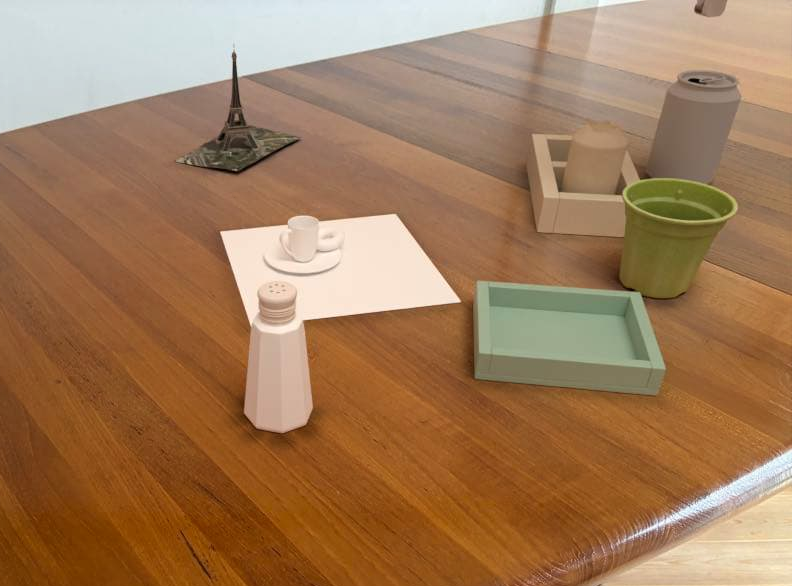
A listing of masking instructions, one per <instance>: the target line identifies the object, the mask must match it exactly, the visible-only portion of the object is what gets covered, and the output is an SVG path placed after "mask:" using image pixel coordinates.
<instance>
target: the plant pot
mask: <svg viewBox="0 0 792 586" xmlns="http://www.w3.org/2000/svg"><path fill="white" fill-rule="evenodd" d="M622 198H623V201H624V203H625V215H626V224H625V234H624V237H623V245H622V253H621V261H620V270H619V281H620V283H621V284H622V285H623V286H624V287H625V288H627V289H632V290H634V291H635V292H640V293H641V296H644V297H647V298H653V299H673V298H677V297H678V296H679V295H681V294H683V293H687V291H688V290H689V289H690V287H691V284H692V283H693V281H694V278H695V277H696V275H697V274H698V271H699V269H700V268H701V264H702V263H703V261H704V260H705V257H706V256H707V254H708V252H709V250H710V248H711V246H712V244H713V243H714V240H716V237H717V235H718V233H719V232H720V231H721V230H722V229H723V228H725V225H726V224H727V222H728V221H729V220H731V219H732V218H734V217H735V215H737V212H738V210H739V206H738V205H739V204H738V202H737V201H736V199H735V198H734V197H733V196H732V195H730V194H729V193H727V191H723V190H722V189H720V188H718V187H715V186H713V185H710V184H707V185H706V184H703V183H699V182H694V181H689V180H683V179H674V178H653V179H651V178H646V179H640V181H636V182H634V183H631V184H629V185H628V186H627V187H626V188H625V189H624V190H623V193H622Z"/></svg>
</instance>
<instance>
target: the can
mask: <svg viewBox="0 0 792 586" xmlns="http://www.w3.org/2000/svg"><path fill="white" fill-rule="evenodd" d="M676 77H677V78H676V79H677V81H675V82H674V83H672V84H671V85H670V86H668V87H667V90H666V94H665V97H664V101H663V104H662V108H661V112H660V115H659V119H658V122H657V127H656V130H655V133H654V137H653V141H652V145H651V148H650V150H649V155H648V159H647V162H646V166H645V173H646V174H647V175H648V176H649V178H650V179H653V178H674V179H683V180H689V181H694V182H699V183H703V184H706V185H710V184H711V183H712V182H713V181H714V180H715V178H716V175H717V172H718V169H719V165H720V162H721V159H722V156H723V154H724V150H725V148H726V145H727V141H728V139H729V136H730V133H731V130H732V126H733V123H734V120H735V118H736V115H737V111H738V108H739V105H740V102H741V99H742V94H741V91H740V90H739V88H738V85H739V84H740V79H739V78H738V77H736V76H734V75H732V74H730V73H726V72H722V71H716V70H707V69H706V70H704V69H702V70H701V69H693V70H685V71H683V72H680V73H678V74H677V75H676Z"/></svg>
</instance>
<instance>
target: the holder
mask: <svg viewBox="0 0 792 586" xmlns="http://www.w3.org/2000/svg"><path fill="white" fill-rule="evenodd" d="M573 135H574V134H572V135H571V134H543V133H532V134H531V137H530V142H529V147H528V153H527V159H526V164H525V165H526V172H527V178H528V185H529V190H530V197H531V203H532V209H533V216H534V222H535V223H534V224H535V228H536V232H537V233H541V234H560V235H574V236H575V235H576V236H578V235H579V236H594V237H608V238H624V234H625V224H626V215H625V203H624V201H623V198H622V193H623V190H624V189H625V188H626V187H627V186H628V185H629V184H631V183H634V182H636V181H640V180H641V179H640V177H639V174H638V172H637V169H636V167H635V166H634V163H633V160H632V158H631V155H630V154H629V151H628V149H626V153H625V157H624V161H623V164H622V168H621V172H620V176H619V180H618V184H617V188H616V192H615V195H603V194H584V193H565V192H561V188H562V183H563V178H564V174H565V169H566V164H567V160H568V155H569V150H570V145H571V141H572V136H573Z"/></svg>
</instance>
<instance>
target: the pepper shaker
mask: <svg viewBox="0 0 792 586" xmlns="http://www.w3.org/2000/svg"><path fill="white" fill-rule="evenodd" d="M257 296H258V298H259V303H258V304H259V310H260V311H259V312H258V313H257V315H256V317H255V318H254V320H253V322H252V326H250V335H249V336H250V337H249V347H248V349H249V351H248V359H247V372H246V383H245V395H244V405H243V414H244V415H245V417H246V418H247V419H248V420H249V421H250V423H251V424H252V425H253V426H254V428H255V429H256V430H261V431H267V432H273V433H276V434H277V433H278V434H284V433H287V432H291V431H294V430H296V429H299V428H302V427H304V426H306V425H307V423H308V421H309V419H310V416H311V414H312V412H313V410H314V405H313V397H312V396H313V395H312V388H311V376H310V367H309V359H308V358H309V357H308V350H307V349H308V348H307V340H306V331H305V329H306V328H305V323H304V320H303V319H302V318H301V317H300V316H299V315H298V314H297V313H296V311H295V310H296V297H297V289H296V288H295V287H294V286H293V285H292V284H290V283H287V282H283V281H272V282H268V283H265V284H263V285H262V286H260V288H259V289H258V291H257Z"/></svg>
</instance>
